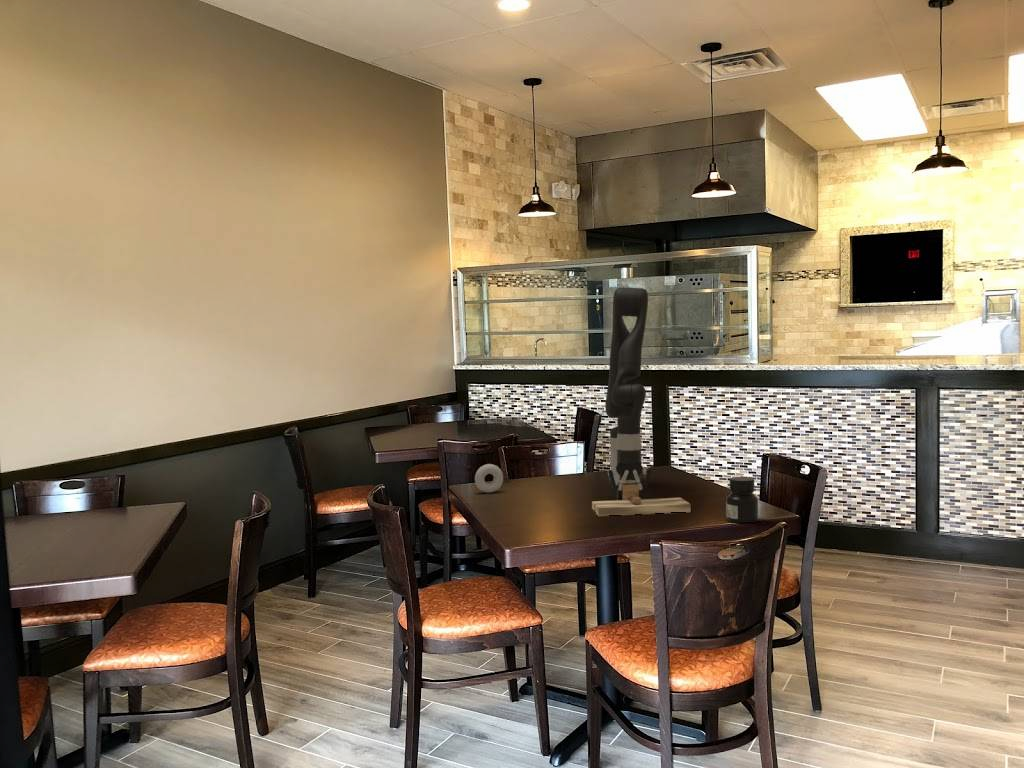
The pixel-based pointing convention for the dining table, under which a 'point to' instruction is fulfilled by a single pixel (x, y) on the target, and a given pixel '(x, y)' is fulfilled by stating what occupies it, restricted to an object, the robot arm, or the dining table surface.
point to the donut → (483, 472)
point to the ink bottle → (742, 501)
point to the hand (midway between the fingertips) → (629, 501)
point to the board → (640, 506)
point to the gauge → (631, 492)
